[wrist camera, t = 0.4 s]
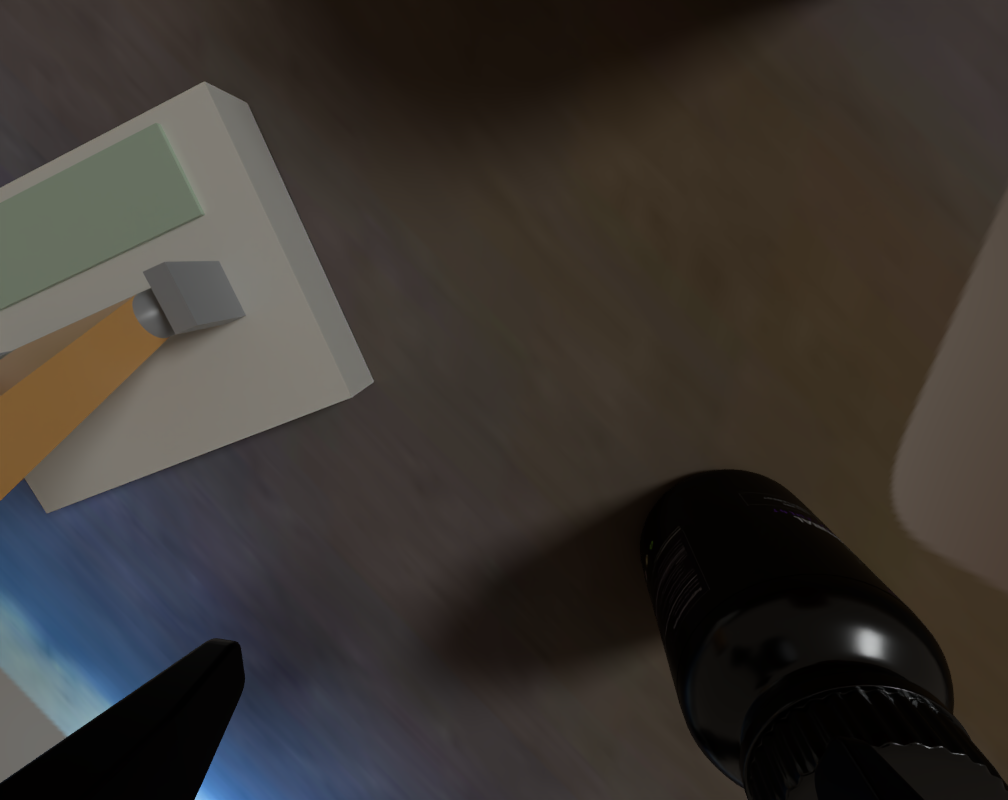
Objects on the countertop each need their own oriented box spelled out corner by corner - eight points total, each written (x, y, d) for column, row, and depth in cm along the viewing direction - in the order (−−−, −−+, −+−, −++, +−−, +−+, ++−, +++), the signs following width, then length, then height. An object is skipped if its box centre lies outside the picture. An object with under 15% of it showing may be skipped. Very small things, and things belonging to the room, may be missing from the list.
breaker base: (374, 381, 22) (321, 419, 17) (96, 487, 24) (-22, 548, 19) (247, 103, 19) (142, 50, 14) (-46, 250, 22) (-223, 249, 17)
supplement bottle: (822, 470, 21) (1148, 727, 10) (788, 619, 23) (1028, 985, 11) (646, 455, 22) (755, 684, 10) (625, 602, 23) (699, 939, 12)
